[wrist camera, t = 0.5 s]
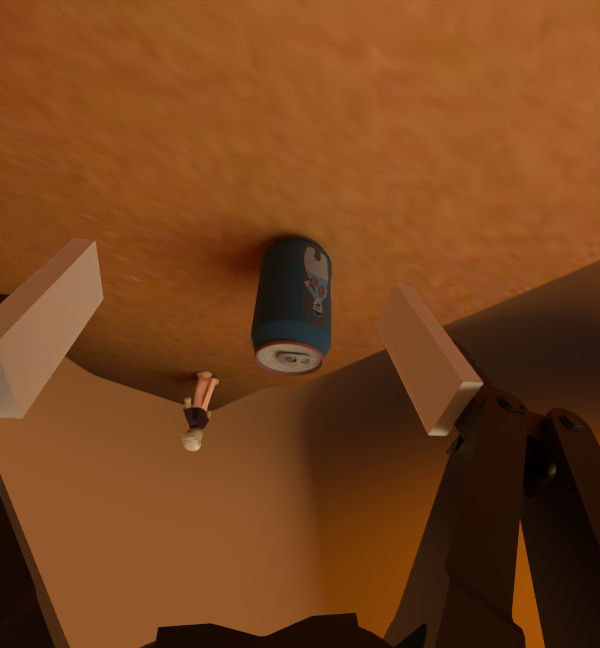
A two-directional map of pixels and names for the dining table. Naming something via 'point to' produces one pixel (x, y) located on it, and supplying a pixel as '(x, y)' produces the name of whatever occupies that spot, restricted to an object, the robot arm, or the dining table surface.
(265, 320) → the soda can
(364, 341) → the dining table surface
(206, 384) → the grandmother figurine
